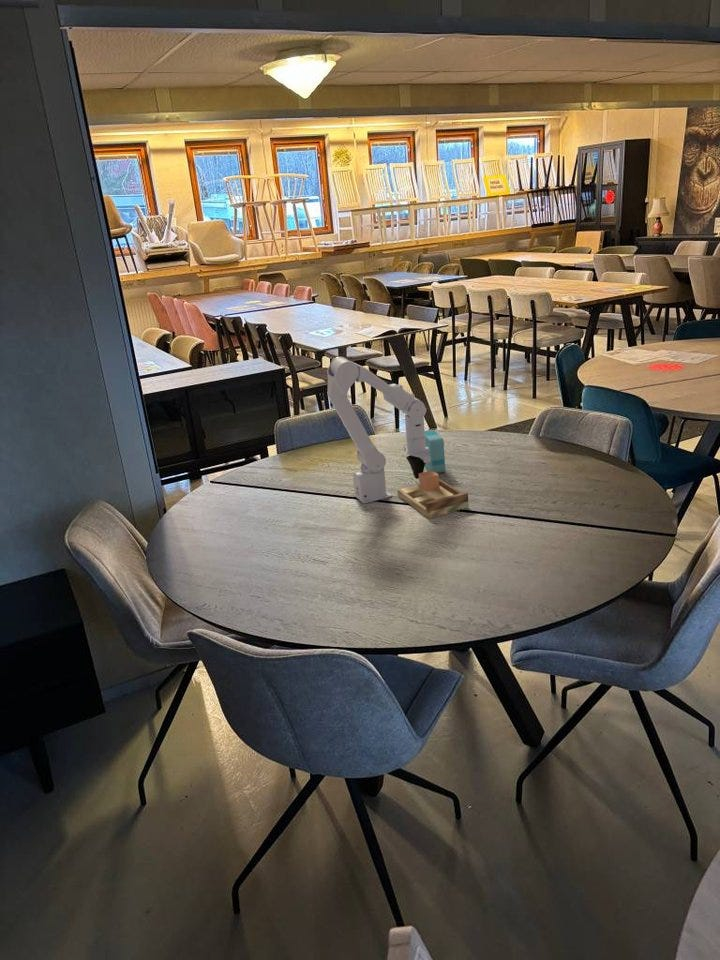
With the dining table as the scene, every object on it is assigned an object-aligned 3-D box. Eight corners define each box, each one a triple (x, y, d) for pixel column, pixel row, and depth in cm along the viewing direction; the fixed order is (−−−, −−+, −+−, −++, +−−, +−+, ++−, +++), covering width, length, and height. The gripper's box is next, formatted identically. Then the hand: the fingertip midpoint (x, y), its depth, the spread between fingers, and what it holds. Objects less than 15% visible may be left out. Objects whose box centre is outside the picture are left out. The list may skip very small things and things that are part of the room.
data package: (445, 473, 220) (443, 438, 216) (432, 475, 220) (430, 440, 215) (435, 461, 231) (433, 428, 227) (422, 463, 231) (420, 430, 226)
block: (426, 491, 202) (425, 477, 201) (419, 487, 206) (418, 473, 205) (439, 488, 204) (438, 474, 202) (432, 483, 208) (431, 470, 206)
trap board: (428, 518, 189) (427, 504, 188) (397, 495, 207) (396, 482, 205) (468, 507, 193) (467, 493, 192) (435, 486, 211) (434, 472, 209)
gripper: (438, 439, 201) (441, 481, 206) (416, 428, 214) (419, 468, 218) (417, 444, 199) (420, 487, 204) (396, 432, 211) (399, 472, 216)
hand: (418, 477), depth 211 cm, fingers closed
